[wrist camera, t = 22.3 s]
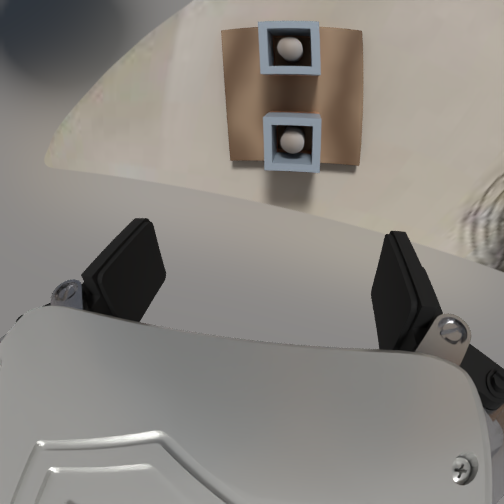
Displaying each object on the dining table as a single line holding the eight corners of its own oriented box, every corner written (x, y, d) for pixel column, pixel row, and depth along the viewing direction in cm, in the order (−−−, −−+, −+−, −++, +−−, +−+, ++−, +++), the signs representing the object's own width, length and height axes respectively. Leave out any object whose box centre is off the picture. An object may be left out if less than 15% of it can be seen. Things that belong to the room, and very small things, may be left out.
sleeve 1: (316, 32, 23) (318, 21, 18) (318, 76, 26) (320, 74, 21) (266, 31, 24) (257, 21, 19) (268, 75, 27) (260, 74, 22)
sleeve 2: (318, 112, 29) (321, 118, 24) (317, 157, 32) (319, 172, 27) (270, 110, 30) (262, 117, 25) (271, 155, 33) (264, 170, 28)
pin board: (359, 32, 23) (371, 22, 18) (357, 162, 33) (366, 179, 27) (224, 32, 26) (207, 23, 21) (233, 157, 35) (219, 173, 30)
